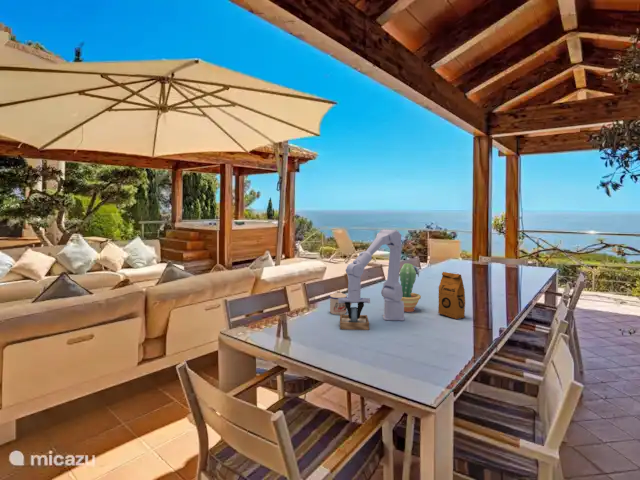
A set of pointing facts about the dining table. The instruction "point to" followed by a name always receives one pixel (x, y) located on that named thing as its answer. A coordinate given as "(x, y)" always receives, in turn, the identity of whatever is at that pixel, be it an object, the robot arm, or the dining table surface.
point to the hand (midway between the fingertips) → (354, 318)
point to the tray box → (361, 325)
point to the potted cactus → (409, 286)
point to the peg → (354, 314)
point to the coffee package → (451, 296)
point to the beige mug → (334, 305)
